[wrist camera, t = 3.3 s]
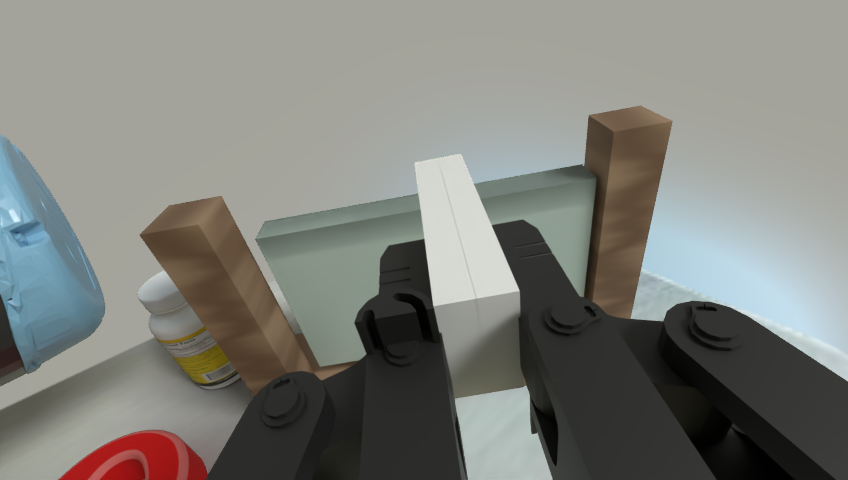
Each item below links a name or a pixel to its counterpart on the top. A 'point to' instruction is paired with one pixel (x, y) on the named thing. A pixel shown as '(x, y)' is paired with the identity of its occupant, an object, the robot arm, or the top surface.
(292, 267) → the gate
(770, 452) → the robot arm
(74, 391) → the top surface
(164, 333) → the supplement bottle
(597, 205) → the gate frame
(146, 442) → the decorative ornament
